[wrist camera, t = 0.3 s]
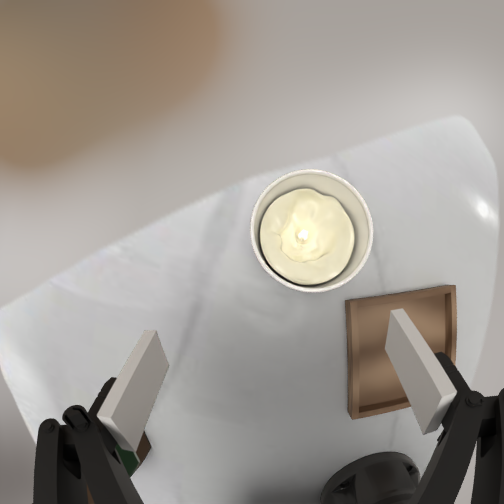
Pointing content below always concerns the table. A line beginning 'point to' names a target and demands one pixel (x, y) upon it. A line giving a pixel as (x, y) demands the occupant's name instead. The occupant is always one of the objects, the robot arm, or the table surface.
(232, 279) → the table surface
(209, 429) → the table surface
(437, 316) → the tray
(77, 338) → the table surface
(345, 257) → the candle holder
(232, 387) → the table surface
